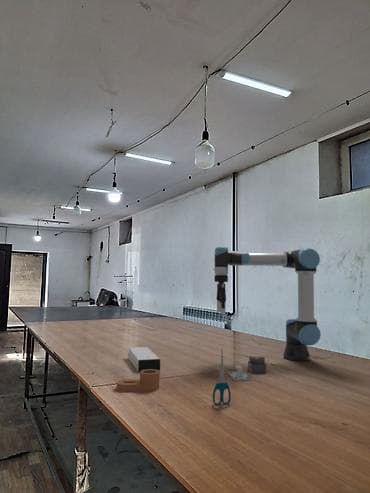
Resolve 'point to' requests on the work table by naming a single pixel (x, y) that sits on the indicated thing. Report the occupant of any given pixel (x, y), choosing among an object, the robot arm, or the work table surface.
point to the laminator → (143, 359)
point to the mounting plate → (239, 375)
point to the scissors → (221, 385)
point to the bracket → (141, 382)
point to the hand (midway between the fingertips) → (220, 313)
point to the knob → (257, 364)
